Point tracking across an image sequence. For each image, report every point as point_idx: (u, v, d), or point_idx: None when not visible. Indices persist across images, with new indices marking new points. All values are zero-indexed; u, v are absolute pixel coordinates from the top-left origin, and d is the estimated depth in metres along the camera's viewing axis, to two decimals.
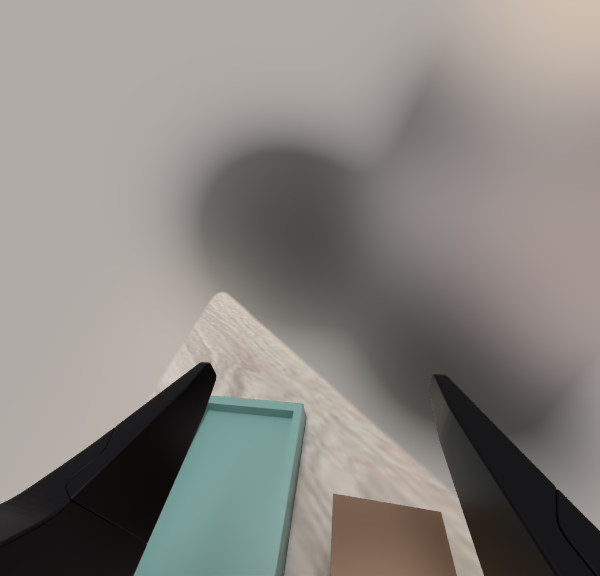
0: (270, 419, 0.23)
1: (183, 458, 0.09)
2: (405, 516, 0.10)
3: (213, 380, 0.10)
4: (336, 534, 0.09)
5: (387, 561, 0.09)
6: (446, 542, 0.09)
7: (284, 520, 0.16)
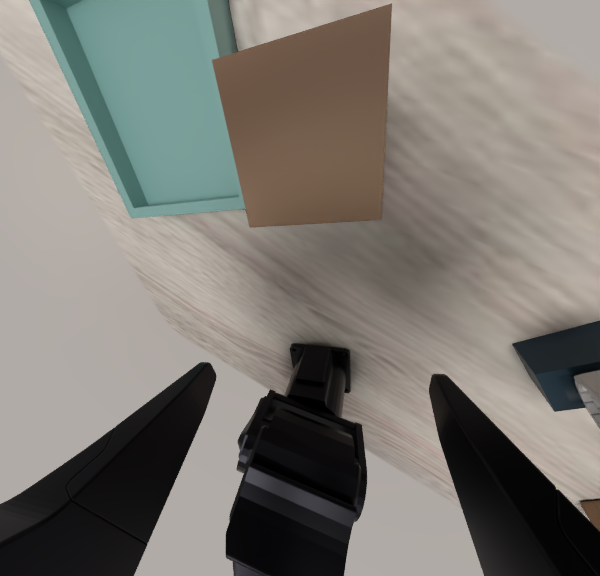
0: None
1: (183, 457, 0.09)
2: (325, 44, 0.05)
3: (213, 380, 0.10)
4: (231, 117, 0.07)
5: (296, 123, 0.06)
6: (385, 60, 0.05)
7: None
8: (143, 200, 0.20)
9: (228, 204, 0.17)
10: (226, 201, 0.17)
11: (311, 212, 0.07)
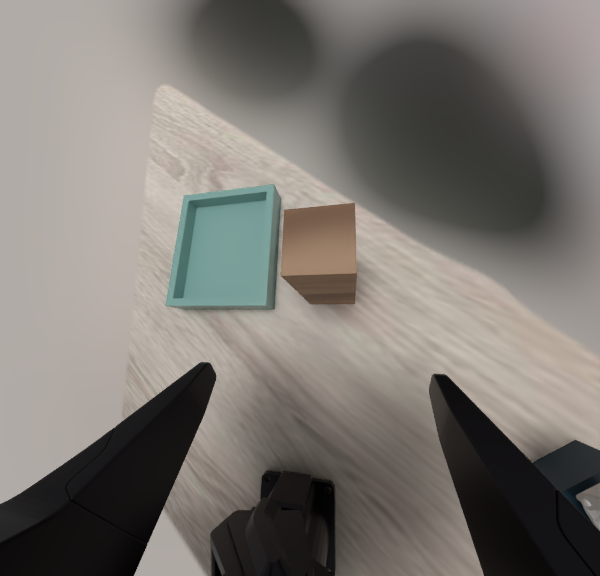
0: (250, 204, 0.27)
1: (183, 457, 0.09)
2: (331, 210, 0.14)
3: (213, 380, 0.10)
4: (286, 227, 0.15)
5: (316, 231, 0.14)
6: (354, 216, 0.14)
7: (269, 255, 0.24)
8: (181, 297, 0.26)
9: (249, 301, 0.23)
10: (248, 299, 0.23)
11: (318, 268, 0.13)
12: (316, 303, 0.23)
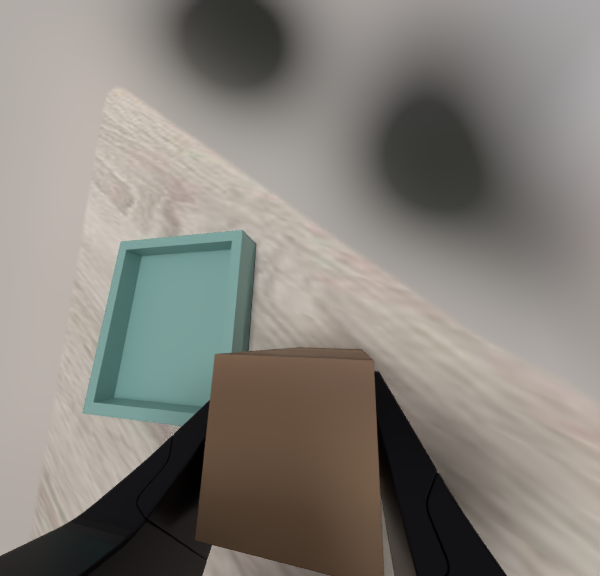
0: (212, 254, 0.19)
1: None
2: (316, 370, 0.06)
3: None
4: (216, 401, 0.06)
5: (281, 426, 0.06)
6: (372, 398, 0.06)
7: (233, 343, 0.15)
8: (111, 393, 0.18)
9: None
10: None
11: (284, 543, 0.05)
12: None
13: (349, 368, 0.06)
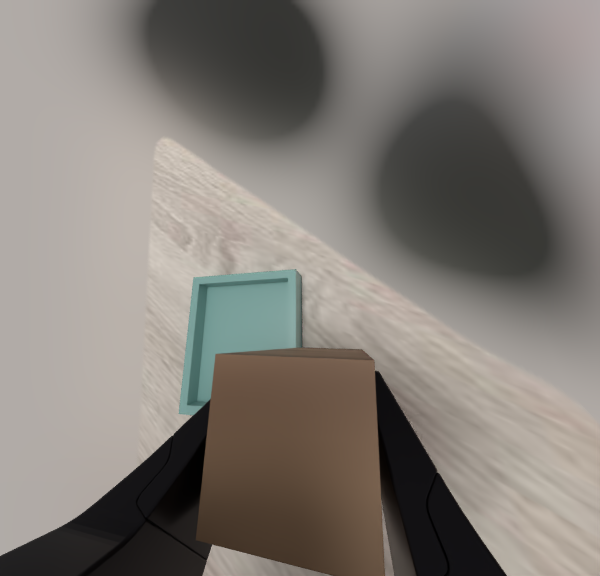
0: (268, 286, 0.24)
1: None
2: (317, 370, 0.06)
3: None
4: (216, 401, 0.06)
5: (282, 426, 0.06)
6: (373, 398, 0.06)
7: None
8: (195, 398, 0.23)
9: None
10: None
11: (285, 543, 0.05)
12: None
13: (350, 368, 0.06)
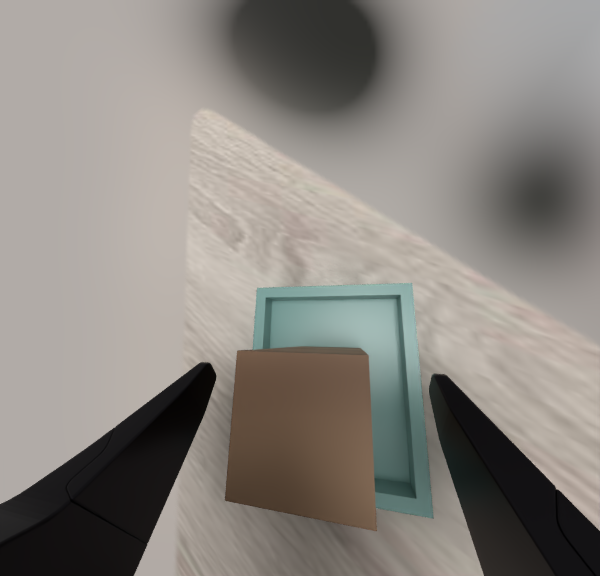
0: (360, 303, 0.18)
1: (183, 457, 0.09)
2: (322, 363, 0.07)
3: (213, 380, 0.10)
4: (239, 389, 0.08)
5: (294, 409, 0.07)
6: (367, 385, 0.07)
7: None
8: None
9: (398, 504, 0.13)
10: (396, 499, 0.13)
11: (298, 500, 0.07)
12: None
13: (349, 361, 0.07)
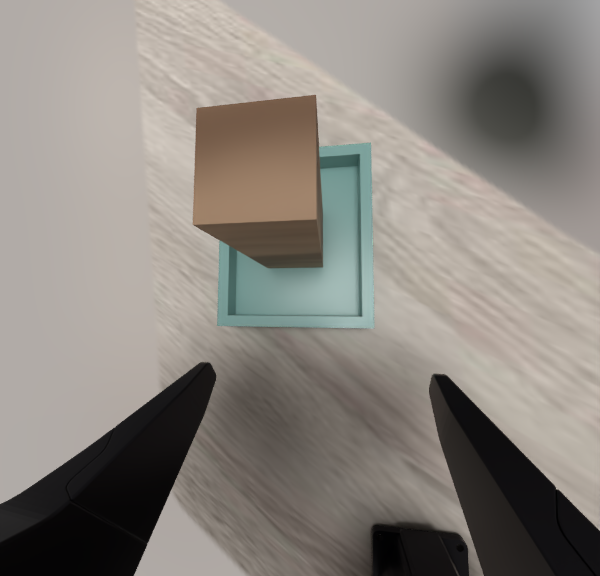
0: (324, 172, 0.19)
1: (183, 457, 0.09)
2: (276, 107, 0.08)
3: (213, 380, 0.10)
4: (200, 140, 0.08)
5: (250, 147, 0.08)
6: (314, 118, 0.08)
7: None
8: (234, 309, 0.18)
9: (348, 322, 0.16)
10: (346, 319, 0.16)
11: (255, 211, 0.08)
12: (275, 267, 0.18)
13: (299, 102, 0.08)
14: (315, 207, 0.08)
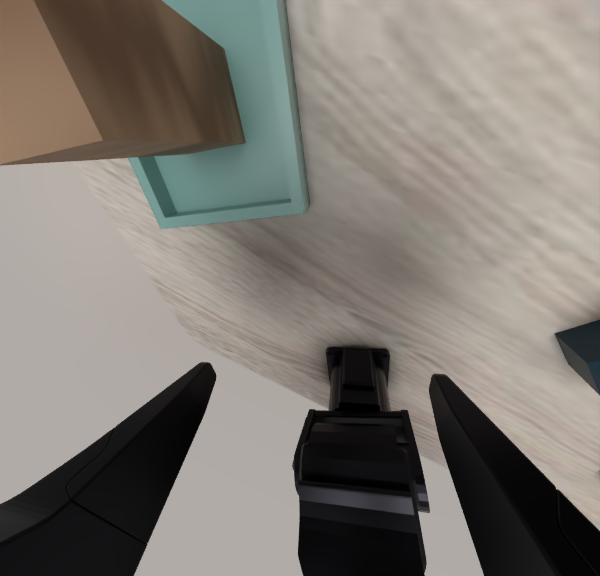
0: None
1: (183, 457, 0.09)
2: None
3: (213, 380, 0.10)
4: None
5: None
6: None
7: (292, 118, 0.13)
8: (172, 208, 0.18)
9: (278, 210, 0.15)
10: (276, 207, 0.15)
11: (37, 138, 0.07)
12: (193, 152, 0.16)
13: None
14: (94, 121, 0.06)
